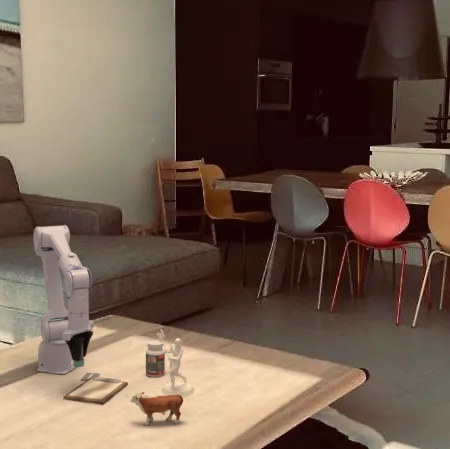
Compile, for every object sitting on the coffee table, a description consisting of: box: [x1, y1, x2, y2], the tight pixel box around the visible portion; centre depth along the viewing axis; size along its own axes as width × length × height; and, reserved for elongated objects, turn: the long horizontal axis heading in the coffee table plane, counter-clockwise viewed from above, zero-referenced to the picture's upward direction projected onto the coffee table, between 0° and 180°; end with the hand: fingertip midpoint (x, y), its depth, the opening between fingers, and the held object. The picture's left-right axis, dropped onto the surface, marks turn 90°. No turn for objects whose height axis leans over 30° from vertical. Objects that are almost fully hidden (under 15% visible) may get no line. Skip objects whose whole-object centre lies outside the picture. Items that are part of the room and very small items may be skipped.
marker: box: [72, 344, 85, 368], centre depth 213 cm, size 3×3×8 cm
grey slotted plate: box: [80, 372, 101, 382], centre depth 224 cm, size 4×6×1 cm, turn 173°
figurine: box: [156, 328, 195, 397], centre depth 213 cm, size 10×10×18 cm
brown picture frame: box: [62, 376, 129, 406], centre depth 212 cm, size 12×16×1 cm
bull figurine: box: [130, 391, 184, 427], centre depth 192 cm, size 4×13×8 cm, turn 95°
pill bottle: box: [145, 339, 166, 378], centre depth 227 cm, size 6×6×10 cm
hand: (79, 358), depth 213 cm, fingers closed on marker, 3 cm apart
